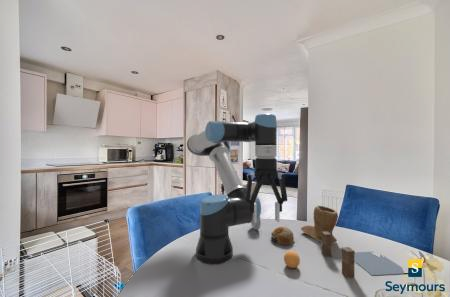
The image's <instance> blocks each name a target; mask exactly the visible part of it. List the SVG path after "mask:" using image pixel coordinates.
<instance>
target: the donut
mask: <svg viewBox="0 0 450 297" xmlns="http://www.w3.org/2000/svg"><path fill="white" fill-rule="evenodd" d="M261 224H262V221H261V216H260V217H259V218H258V220H257V223H254V222H251V223H250V225H251V227H252V229H253V230H254V231H258V230H260V228H261Z"/></svg>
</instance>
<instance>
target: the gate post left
mask: <svg viewBox="0 0 450 297" xmlns="http://www.w3.org/2000/svg"><path fill="white" fill-rule="evenodd" d="M332 235H333V233H332V234H331V233H329V232H328V231H327V232H322V242H321V255H322V256H324V258H332V256H333V255H332V254H333V253H332V244H333V243H332Z"/></svg>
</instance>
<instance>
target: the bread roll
mask: <svg viewBox="0 0 450 297" xmlns="http://www.w3.org/2000/svg"><path fill="white" fill-rule="evenodd" d="M270 234H271V237H270V240H272V241H273V242H274V243H276V244H277V245H282V246H290V245H293V244H295V240H294V238H295V237H294V233H293V231H292V230H291V229H290V228H288V227H287V226H278V227H276V228H275V229H274V230H273V231H272V232H271V233H270Z"/></svg>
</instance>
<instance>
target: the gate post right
mask: <svg viewBox="0 0 450 297" xmlns="http://www.w3.org/2000/svg"><path fill="white" fill-rule="evenodd" d="M355 252H356V251H355V250H354V249H352V248H351V247H349V246H347V247H345V246H344V247H341V274H342V275H343V276H344V277H345V278H346V279H355V262H354V255H355Z"/></svg>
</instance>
